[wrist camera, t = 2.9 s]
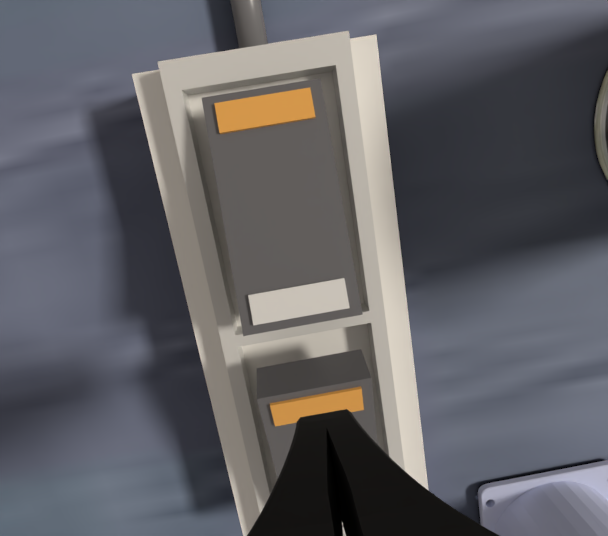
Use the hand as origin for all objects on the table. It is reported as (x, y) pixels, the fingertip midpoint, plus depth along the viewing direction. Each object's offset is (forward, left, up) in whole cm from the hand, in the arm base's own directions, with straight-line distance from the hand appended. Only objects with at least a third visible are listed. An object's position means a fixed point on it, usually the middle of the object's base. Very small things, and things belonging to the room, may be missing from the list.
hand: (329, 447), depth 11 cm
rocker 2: (-4, 0, -5) cm, 7 cm away
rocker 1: (+6, 0, -5) cm, 8 cm away
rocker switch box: (+4, 0, -10) cm, 11 cm away
